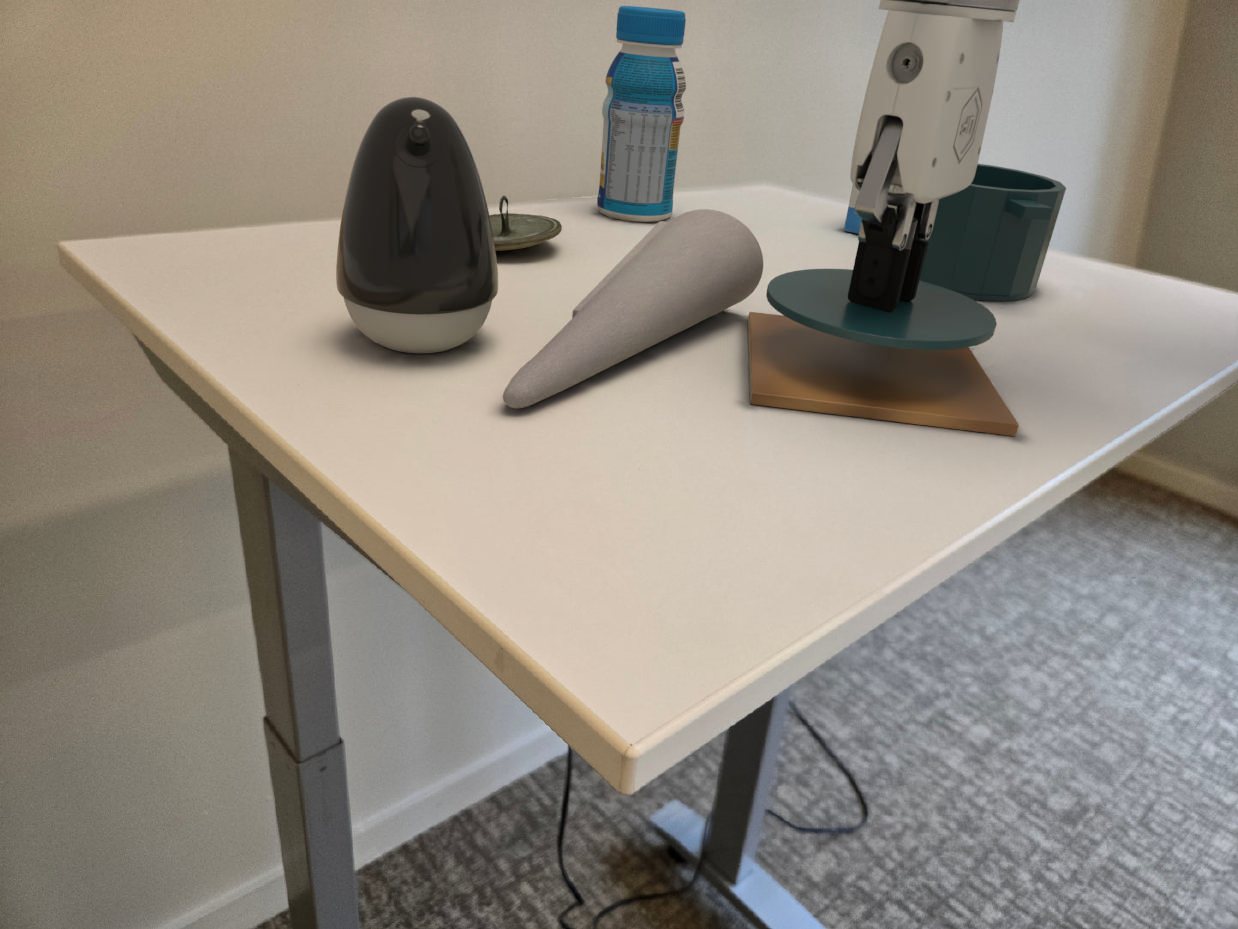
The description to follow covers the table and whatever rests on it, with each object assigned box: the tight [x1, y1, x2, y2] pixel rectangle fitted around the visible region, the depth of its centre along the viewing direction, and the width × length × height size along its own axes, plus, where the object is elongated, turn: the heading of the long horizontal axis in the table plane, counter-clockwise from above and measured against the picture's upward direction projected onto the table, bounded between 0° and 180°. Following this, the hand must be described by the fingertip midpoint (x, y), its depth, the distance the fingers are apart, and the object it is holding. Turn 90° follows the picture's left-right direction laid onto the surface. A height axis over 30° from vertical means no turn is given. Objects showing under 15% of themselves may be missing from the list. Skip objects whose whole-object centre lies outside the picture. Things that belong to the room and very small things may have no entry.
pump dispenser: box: [335, 96, 499, 355], centre depth 58 cm, size 10×10×15 cm
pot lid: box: [765, 213, 998, 350], centre depth 60 cm, size 15×15×7 cm
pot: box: [919, 163, 1067, 302], centre depth 85 cm, size 14×19×10 cm
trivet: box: [747, 311, 1020, 437], centre depth 63 cm, size 16×16×1 cm
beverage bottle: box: [596, 5, 687, 223], centre depth 95 cm, size 8×8×20 cm
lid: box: [489, 195, 563, 252], centre depth 83 cm, size 11×10×5 cm
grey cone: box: [502, 208, 764, 409], centre depth 61 cm, size 8×9×26 cm
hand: (881, 298), depth 61 cm, fingers closed on pot lid, 2 cm apart
